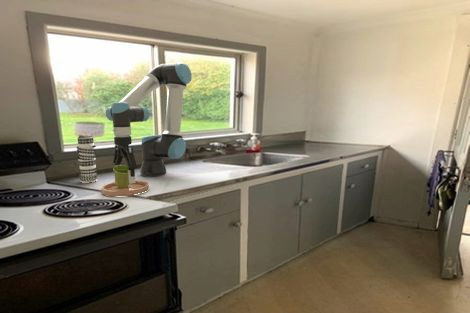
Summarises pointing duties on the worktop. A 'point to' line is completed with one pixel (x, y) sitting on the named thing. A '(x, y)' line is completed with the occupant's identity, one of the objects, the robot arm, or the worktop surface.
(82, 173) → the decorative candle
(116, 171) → the plant pot
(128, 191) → the saucer
